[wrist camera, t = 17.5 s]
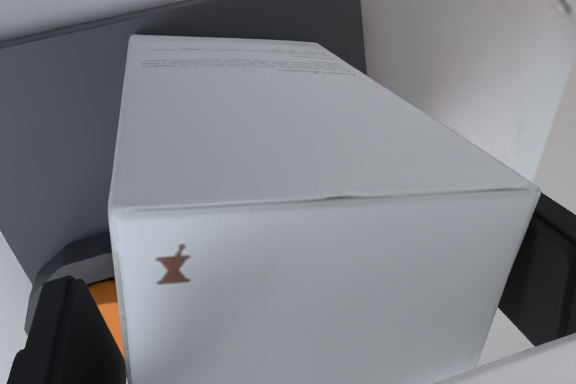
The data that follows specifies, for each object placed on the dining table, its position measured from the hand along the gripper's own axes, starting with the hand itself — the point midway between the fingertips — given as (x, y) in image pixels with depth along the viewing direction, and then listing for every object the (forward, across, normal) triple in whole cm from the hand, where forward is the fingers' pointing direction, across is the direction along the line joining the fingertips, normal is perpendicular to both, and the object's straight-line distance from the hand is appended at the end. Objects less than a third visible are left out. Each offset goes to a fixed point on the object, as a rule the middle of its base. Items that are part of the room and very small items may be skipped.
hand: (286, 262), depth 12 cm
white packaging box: (+9, 0, 0) cm, 9 cm away
